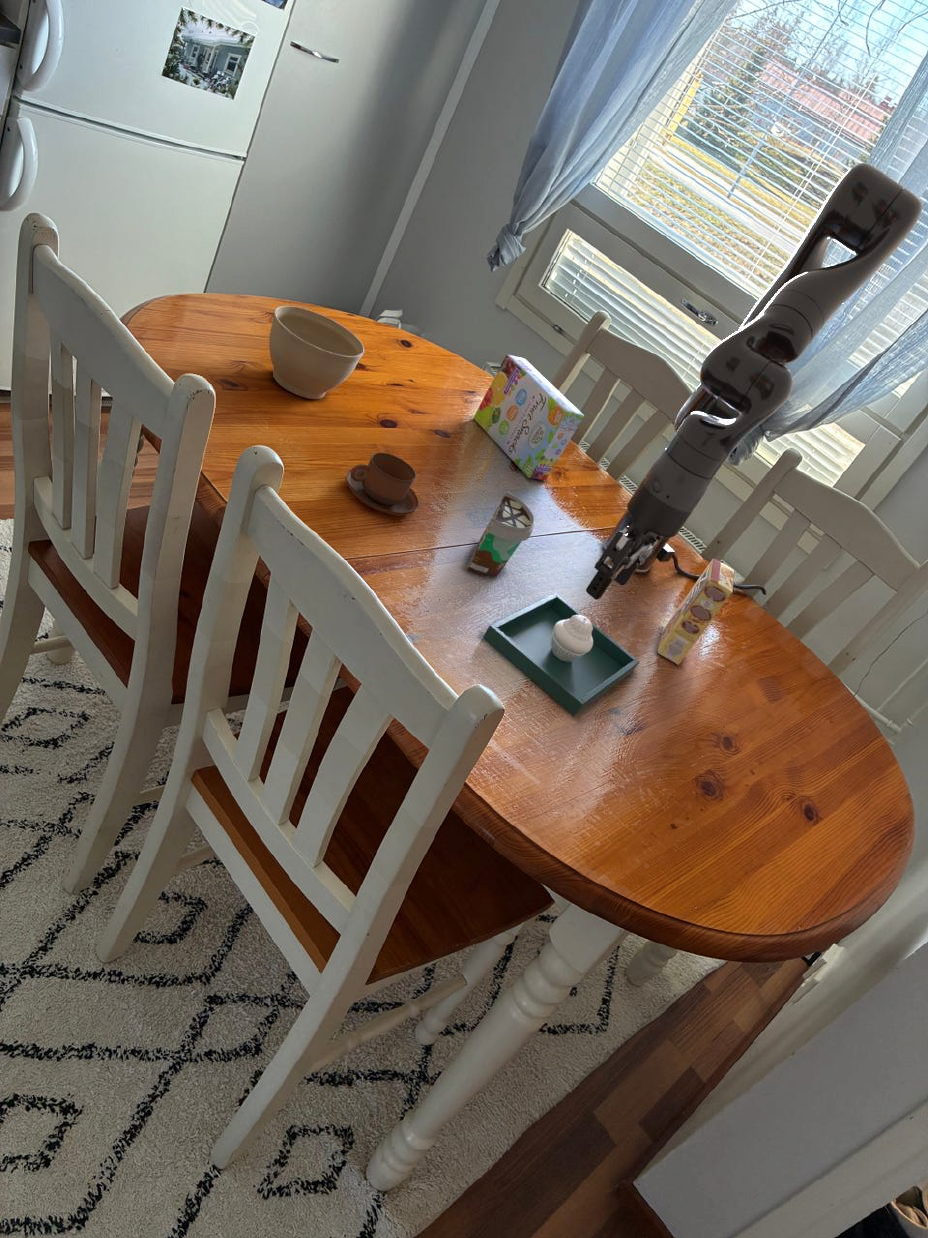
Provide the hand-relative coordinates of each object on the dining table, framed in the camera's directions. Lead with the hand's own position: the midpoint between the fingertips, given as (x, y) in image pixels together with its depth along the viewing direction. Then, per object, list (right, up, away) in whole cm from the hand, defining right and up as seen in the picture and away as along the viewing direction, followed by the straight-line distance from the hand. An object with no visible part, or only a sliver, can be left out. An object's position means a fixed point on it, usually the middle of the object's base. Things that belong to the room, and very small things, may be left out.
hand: (605, 588), depth 128 cm
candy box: (+14, -9, +24) cm, 29 cm away
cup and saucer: (-33, +14, +19) cm, 40 cm away
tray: (-5, -9, +7) cm, 13 cm away
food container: (-15, +4, +18) cm, 24 cm away
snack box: (-10, +29, +58) cm, 66 cm away
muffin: (-5, -9, +7) cm, 13 cm away
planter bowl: (-48, +37, +37) cm, 71 cm away
